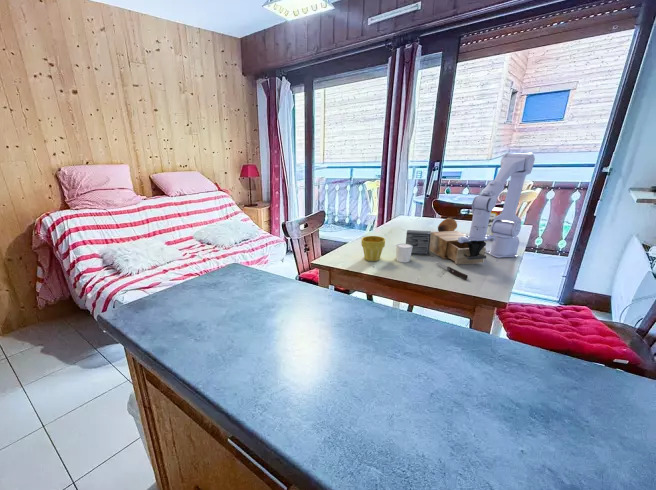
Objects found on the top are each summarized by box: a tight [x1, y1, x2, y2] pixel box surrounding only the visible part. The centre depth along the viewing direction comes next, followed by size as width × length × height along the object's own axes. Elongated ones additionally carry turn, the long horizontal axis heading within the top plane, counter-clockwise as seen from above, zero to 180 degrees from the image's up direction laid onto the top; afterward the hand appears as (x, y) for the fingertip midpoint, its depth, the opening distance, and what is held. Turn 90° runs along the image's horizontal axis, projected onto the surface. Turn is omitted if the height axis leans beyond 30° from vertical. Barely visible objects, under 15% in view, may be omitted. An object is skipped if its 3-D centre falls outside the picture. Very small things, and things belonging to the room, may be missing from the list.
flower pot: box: [360, 235, 386, 262], centre depth 151 cm, size 10×10×10 cm
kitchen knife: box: [434, 262, 469, 281], centre depth 133 cm, size 18×1×2 cm, turn 12°
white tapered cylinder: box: [395, 243, 413, 263], centre depth 147 cm, size 7×7×7 cm
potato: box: [437, 217, 458, 232], centre depth 181 cm, size 8×13×8 cm
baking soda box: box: [486, 207, 503, 235], centre depth 168 cm, size 10×6×16 cm
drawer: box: [445, 242, 487, 265], centre depth 141 cm, size 18×11×7 cm, turn 1°
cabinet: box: [429, 230, 468, 260], centre depth 152 cm, size 15×13×9 cm
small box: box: [405, 229, 432, 256], centre depth 155 cm, size 11×6×10 cm, turn 65°
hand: (473, 258), depth 135 cm, fingers closed, pressing on drawer
